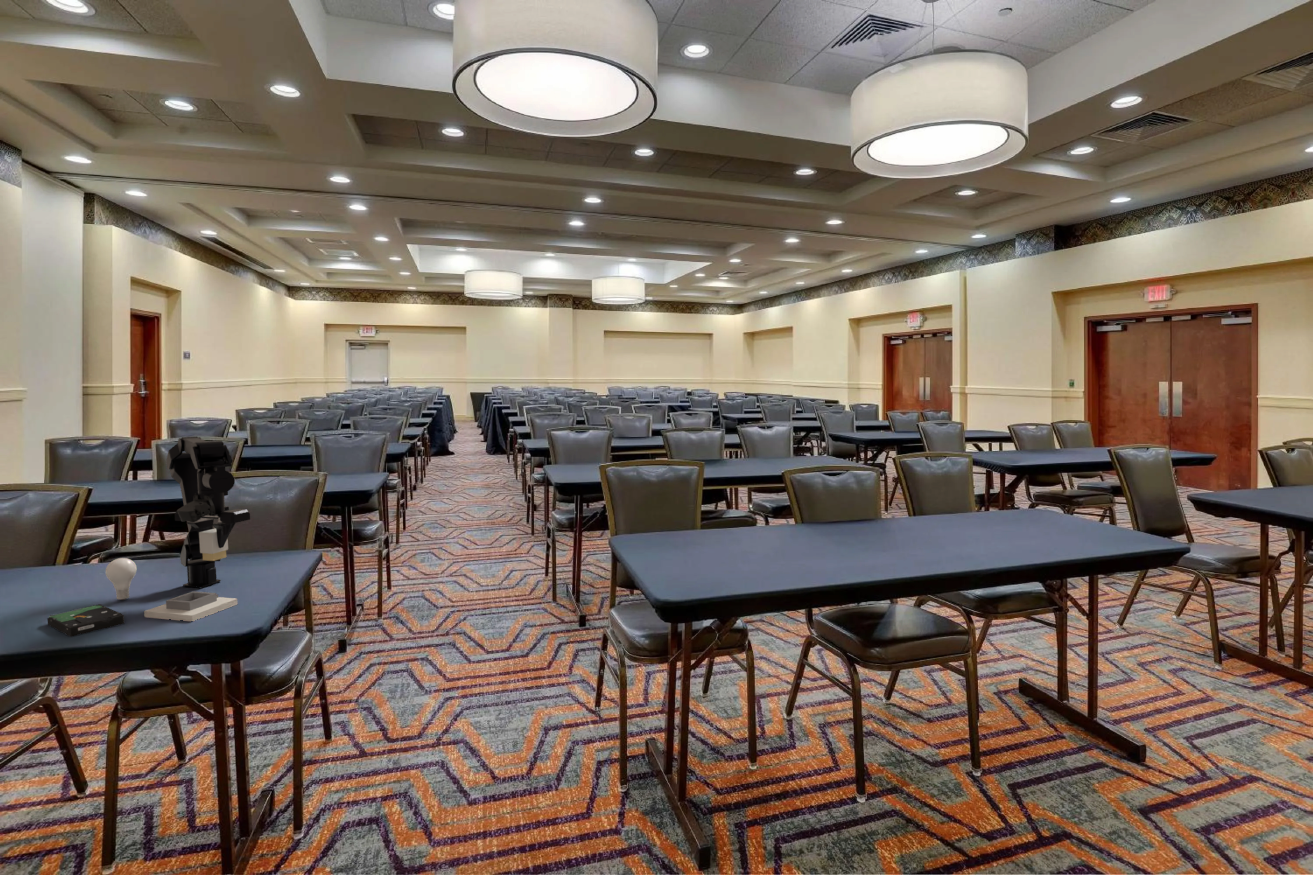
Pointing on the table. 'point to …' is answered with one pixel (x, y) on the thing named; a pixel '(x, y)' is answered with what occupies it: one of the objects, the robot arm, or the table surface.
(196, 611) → the socket plate
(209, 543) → the plug
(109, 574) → the lightbulb
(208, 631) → the table surface
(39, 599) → the table surface
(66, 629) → the disk drive
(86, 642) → the table surface
